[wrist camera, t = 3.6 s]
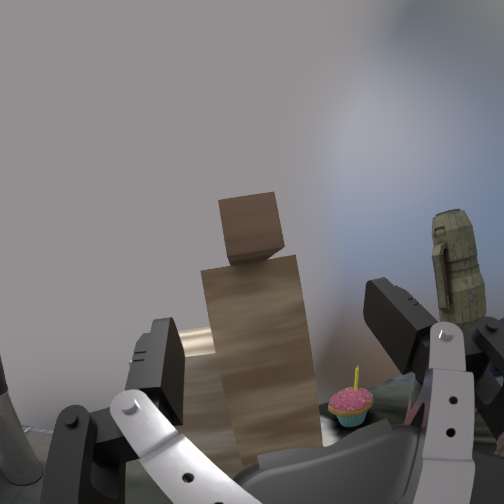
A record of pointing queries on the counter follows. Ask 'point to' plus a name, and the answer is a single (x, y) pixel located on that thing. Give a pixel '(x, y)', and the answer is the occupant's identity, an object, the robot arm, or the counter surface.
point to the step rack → (250, 367)
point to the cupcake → (351, 404)
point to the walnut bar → (251, 227)
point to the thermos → (457, 271)
